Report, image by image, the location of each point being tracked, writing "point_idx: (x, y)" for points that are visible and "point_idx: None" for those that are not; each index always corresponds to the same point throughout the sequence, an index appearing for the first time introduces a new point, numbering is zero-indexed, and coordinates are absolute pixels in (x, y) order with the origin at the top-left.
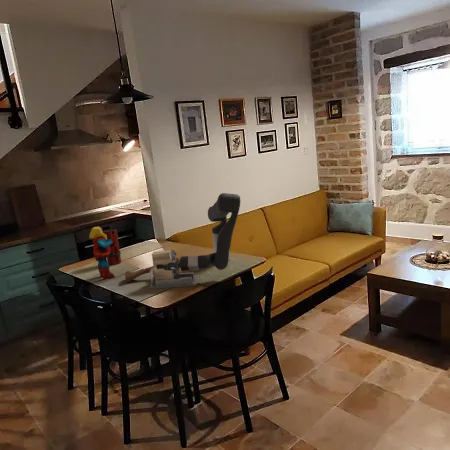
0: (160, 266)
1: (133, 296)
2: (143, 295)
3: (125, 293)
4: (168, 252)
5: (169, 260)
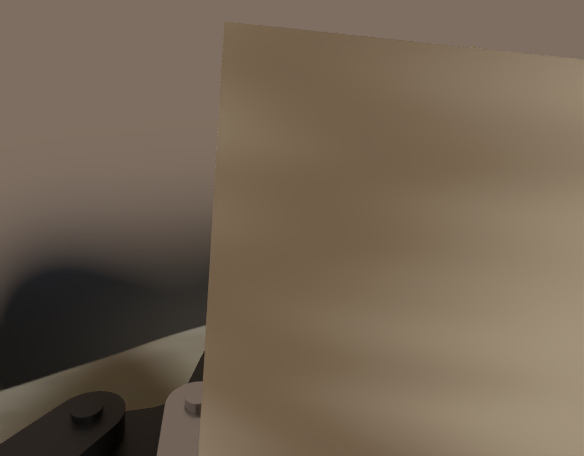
0: (198, 369)
1: (58, 374)
2: (3, 433)
3: (162, 339)
4: (289, 42)
5: (205, 451)
